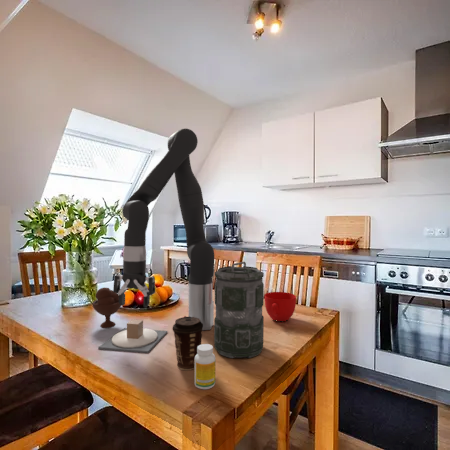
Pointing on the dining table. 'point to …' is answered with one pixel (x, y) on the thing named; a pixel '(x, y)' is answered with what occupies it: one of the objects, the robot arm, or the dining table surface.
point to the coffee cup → (187, 340)
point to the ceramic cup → (280, 305)
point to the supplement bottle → (204, 367)
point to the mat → (143, 349)
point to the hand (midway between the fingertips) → (134, 305)
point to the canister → (239, 311)
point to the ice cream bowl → (106, 305)
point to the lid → (134, 335)
